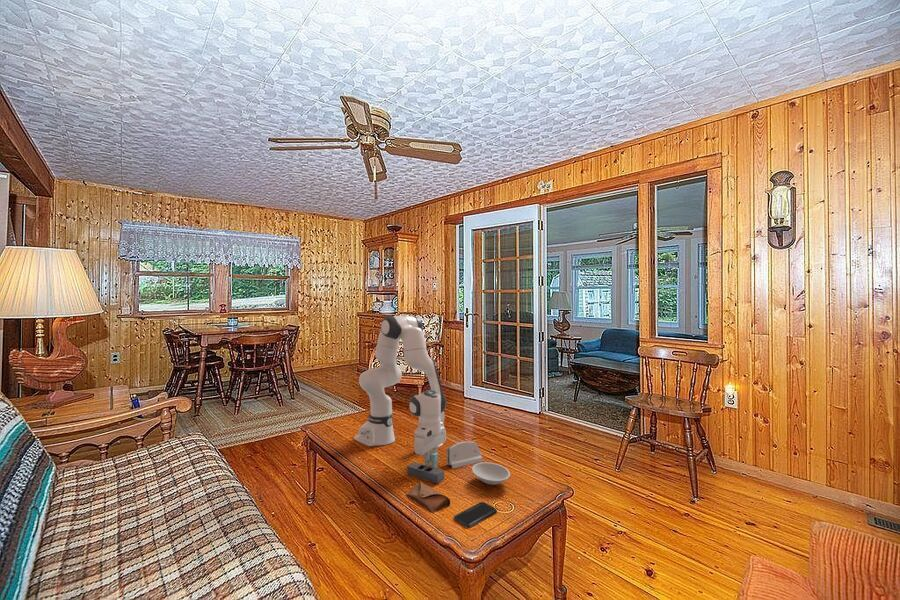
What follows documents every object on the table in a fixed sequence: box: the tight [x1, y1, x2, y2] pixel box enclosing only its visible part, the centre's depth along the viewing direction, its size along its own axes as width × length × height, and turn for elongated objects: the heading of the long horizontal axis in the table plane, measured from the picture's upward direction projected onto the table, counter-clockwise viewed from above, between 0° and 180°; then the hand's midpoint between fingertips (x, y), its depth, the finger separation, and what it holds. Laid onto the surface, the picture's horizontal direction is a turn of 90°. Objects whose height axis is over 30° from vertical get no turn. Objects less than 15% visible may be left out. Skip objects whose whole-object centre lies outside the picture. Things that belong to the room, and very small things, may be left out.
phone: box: [453, 501, 498, 529], centre depth 140 cm, size 8×1×15 cm
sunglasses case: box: [405, 480, 451, 514], centre depth 150 cm, size 18×7×7 cm, turn 43°
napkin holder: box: [446, 441, 484, 469], centre depth 184 cm, size 17×5×10 cm, turn 117°
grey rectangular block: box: [406, 461, 445, 485], centre depth 169 cm, size 16×5×4 cm, turn 58°
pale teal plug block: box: [423, 450, 439, 469], centre depth 179 cm, size 6×3×6 cm, turn 57°
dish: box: [471, 461, 511, 486], centre depth 163 cm, size 18×14×5 cm
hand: (431, 457), depth 179 cm, fingers closed on pale teal plug block, 3 cm apart
